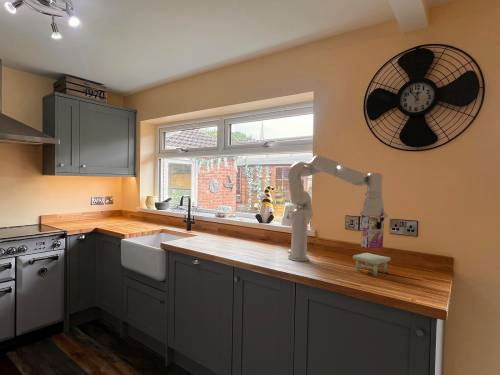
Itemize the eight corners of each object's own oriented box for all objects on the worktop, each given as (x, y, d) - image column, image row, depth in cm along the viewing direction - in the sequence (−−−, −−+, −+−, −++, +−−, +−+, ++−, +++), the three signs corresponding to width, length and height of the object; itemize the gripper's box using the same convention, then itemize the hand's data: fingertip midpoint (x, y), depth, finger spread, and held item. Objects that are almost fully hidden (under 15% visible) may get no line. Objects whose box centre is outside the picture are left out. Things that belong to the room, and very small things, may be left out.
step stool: (352, 270, 163) (352, 255, 163) (365, 266, 172) (366, 252, 172) (376, 276, 152) (377, 261, 152) (389, 272, 161) (390, 257, 161)
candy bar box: (367, 248, 157) (368, 218, 157) (360, 247, 162) (361, 217, 162) (383, 247, 162) (384, 217, 161) (376, 246, 166) (377, 216, 166)
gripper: (355, 194, 166) (354, 226, 166) (386, 196, 153) (385, 231, 153) (363, 194, 171) (362, 226, 171) (393, 196, 157) (392, 230, 157)
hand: (372, 228), depth 162 cm, fingers closed on candy bar box, 6 cm apart
